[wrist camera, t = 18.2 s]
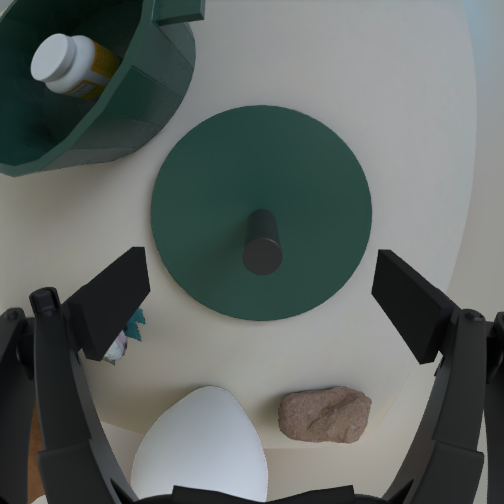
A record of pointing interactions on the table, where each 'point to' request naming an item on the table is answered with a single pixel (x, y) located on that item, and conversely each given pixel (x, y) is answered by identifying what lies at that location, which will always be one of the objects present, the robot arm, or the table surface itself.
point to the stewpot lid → (261, 213)
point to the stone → (324, 415)
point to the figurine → (124, 338)
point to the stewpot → (114, 95)
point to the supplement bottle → (74, 66)
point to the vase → (202, 449)
